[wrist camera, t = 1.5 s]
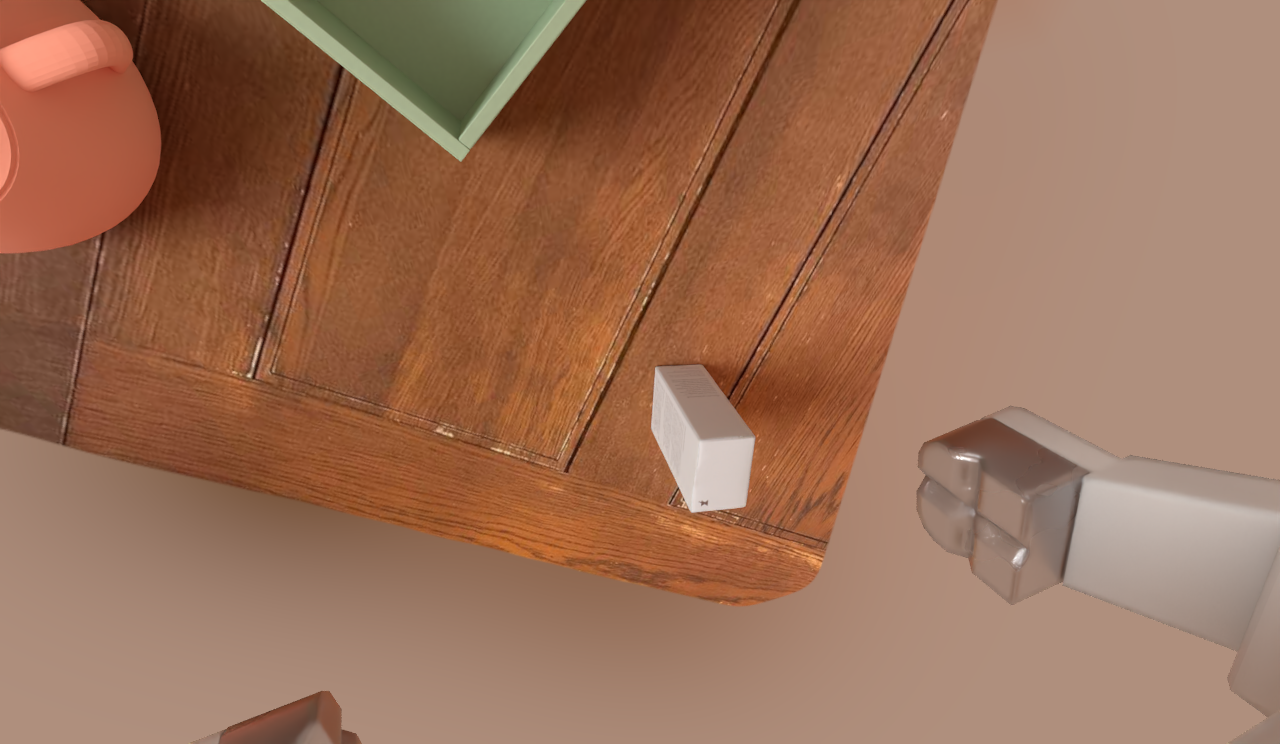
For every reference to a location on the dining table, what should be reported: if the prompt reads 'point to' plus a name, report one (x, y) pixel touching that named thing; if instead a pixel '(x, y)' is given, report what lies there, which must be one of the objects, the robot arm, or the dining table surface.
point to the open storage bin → (436, 53)
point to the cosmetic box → (701, 438)
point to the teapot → (69, 126)
